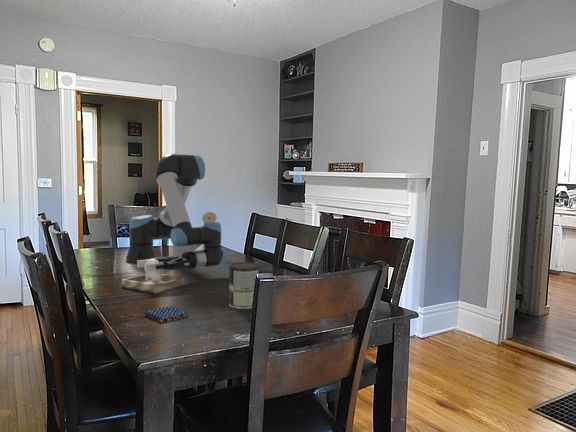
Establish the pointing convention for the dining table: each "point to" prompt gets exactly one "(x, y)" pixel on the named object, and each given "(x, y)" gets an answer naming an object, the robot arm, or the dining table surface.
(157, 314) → the woven mat
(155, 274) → the white rounded lump
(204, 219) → the flower in vase
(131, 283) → the birch tray
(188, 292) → the dining table surface
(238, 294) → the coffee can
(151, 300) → the dining table surface
